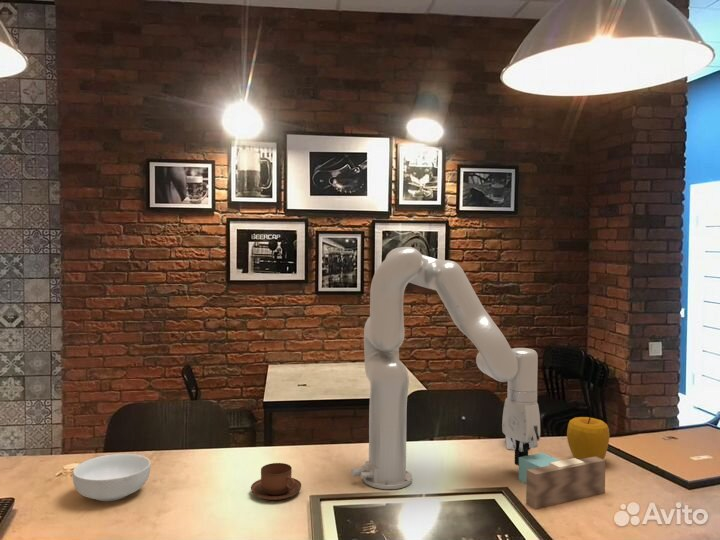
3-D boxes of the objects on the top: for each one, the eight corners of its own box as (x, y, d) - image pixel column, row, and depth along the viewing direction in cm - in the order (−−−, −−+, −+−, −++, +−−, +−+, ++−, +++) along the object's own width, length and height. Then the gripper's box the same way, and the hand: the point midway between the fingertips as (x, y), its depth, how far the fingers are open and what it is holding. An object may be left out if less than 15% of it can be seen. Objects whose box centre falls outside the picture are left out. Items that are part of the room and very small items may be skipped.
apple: (565, 466, 155) (566, 420, 154) (567, 453, 165) (568, 410, 164) (609, 472, 151) (610, 424, 150) (608, 459, 161) (609, 414, 160)
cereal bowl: (73, 516, 123) (72, 484, 123) (72, 488, 138) (72, 459, 138) (155, 501, 131) (155, 471, 131) (146, 476, 146) (146, 449, 146)
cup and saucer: (309, 487, 140) (309, 463, 140) (287, 508, 128) (287, 481, 128) (266, 481, 144) (266, 457, 143) (241, 500, 132) (241, 474, 132)
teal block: (547, 495, 137) (548, 470, 136) (518, 480, 145) (518, 457, 145) (571, 489, 140) (571, 465, 140) (541, 475, 149) (541, 452, 149)
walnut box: (535, 509, 128) (535, 471, 128) (525, 503, 131) (526, 467, 131) (605, 492, 138) (605, 457, 137) (594, 488, 140) (595, 453, 140)
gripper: (492, 390, 153) (491, 457, 154) (531, 403, 140) (530, 477, 140) (514, 388, 157) (513, 453, 157) (554, 400, 143) (552, 472, 144)
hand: (521, 464), depth 149 cm, fingers closed
